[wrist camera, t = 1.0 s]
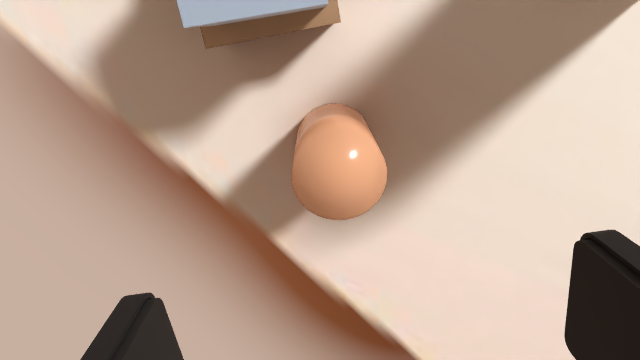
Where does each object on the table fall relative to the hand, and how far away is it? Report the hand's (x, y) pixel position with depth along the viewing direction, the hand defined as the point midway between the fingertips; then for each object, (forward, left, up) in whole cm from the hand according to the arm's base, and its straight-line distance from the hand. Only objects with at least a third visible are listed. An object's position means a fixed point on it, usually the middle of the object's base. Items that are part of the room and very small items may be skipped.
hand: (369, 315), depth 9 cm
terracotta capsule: (-1, 0, -19) cm, 19 cm away
